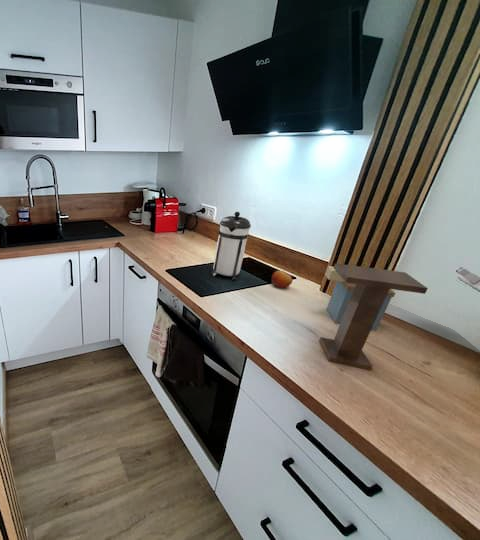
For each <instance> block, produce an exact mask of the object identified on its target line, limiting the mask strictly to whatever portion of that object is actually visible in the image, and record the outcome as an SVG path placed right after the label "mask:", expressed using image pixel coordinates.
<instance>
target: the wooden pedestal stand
mask: <svg viewBox="0 0 480 540" xmlns="http://www.w3.org/2000/svg"><path fill="white" fill-rule="evenodd" d="M333 267H334V269H335V270H336V272H337V273H338V274H339V275H340V276H341V277H342V279H343V280H344V281H345V282H348V283H355V284H356V286H355V288H354V291H353V293H352V296H351V298H350V301H349V303H348V306H347V308H346V311H345V313H344V316H343V318H342V321H341V323H340V324H339V326H338V328H337V331H336V333H335V336H334V339H332V338H327V337H322V336H320V337H319V340H318V342H319V344H320V346H321V348H322V350H323V353H324V355H325V357H326V359H327V361H328V362H331V363H335V364H339V365H344V366H348V367H353V368H357V369H362V370H367V371H371V370H372V368H373V365H372V363H371V362H370V360H369V358H368V357H367V356H366V354H365V352H364V351H363V349H364V347H365V344H366V342H367V341H368V340H367V339H368V337H369V335H370V334H371V331H372V330H371V329H372V327H373V324H374V322H375V320H376V318H377V316H378V313H379V311H380V309H381V307H382V305H383V303H384V300H385V298H386V296H387V294H388V292H389V289H391V290H394V289H395V291H401V290H402V292H409V293H417V294H422V295H425V294H426V293H427V291H428V289H429V288H428V287H426V286H425V285H424V284H422V283H421V282H420V281H418V280H417V279H415V278H414V277H413V276H411V275H410V274H408V273H407V272H403V271H398V270H390V269H383V268H382V269H381V268H374V267H366V266H359V265H351V264H343V263H334V265H333Z"/></svg>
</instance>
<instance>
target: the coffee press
mask: <svg viewBox="0 0 480 540" xmlns="http://www.w3.org/2000/svg"><path fill="white" fill-rule="evenodd" d="M240 215H241V212H239V211H235V212H234V215H229V216H228V215H227V216H225V217H223V218H222V220H220V222H219V225H220V227H219V229H218V238H217V243H216V248H215V249H216V250H215V254H214V261H213V267H212V269H213V270H212V271H211V273H210V275H211V276H212V277H215V276H216V275H217V274H219V275H221V276H225V277H230V279H231V281H233V282H234V281H235V282H236V281H237V276H238V275H239V274H241V269H242V264H243V260H244V256H245V250H246V246H247V241H248V238H249V235H250V233H249V232H250V229H251V227H252V224H251V222H250V220H249V219H248V218H246V217H243V216H240Z"/></svg>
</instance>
